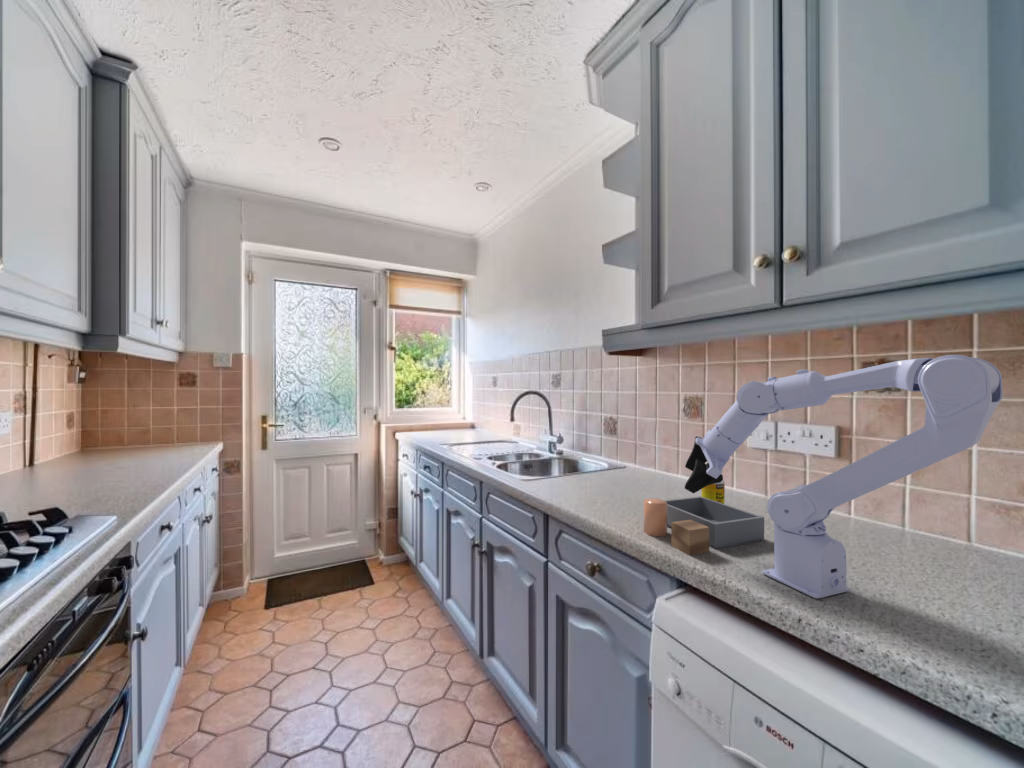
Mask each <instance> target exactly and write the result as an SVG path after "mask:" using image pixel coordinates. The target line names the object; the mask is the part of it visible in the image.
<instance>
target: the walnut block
mask: <svg viewBox="0 0 1024 768" xmlns="http://www.w3.org/2000/svg"><path fill="white" fill-rule="evenodd" d="M670 529H671V540H670V541H671V543H670V544H671V547H672V546H673V548H674V547H675V548H674V549H676V548H677V550H678V549H679V550H678V551H680V552H682V553H684V554H686V555H687V556H695V555H700V553H701V554H706V552H707V553H710V546H709V527H707V526H705V525H702V524H700V523H698V522H695V521H693V520H684V521H677V522H671V528H670Z"/></svg>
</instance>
